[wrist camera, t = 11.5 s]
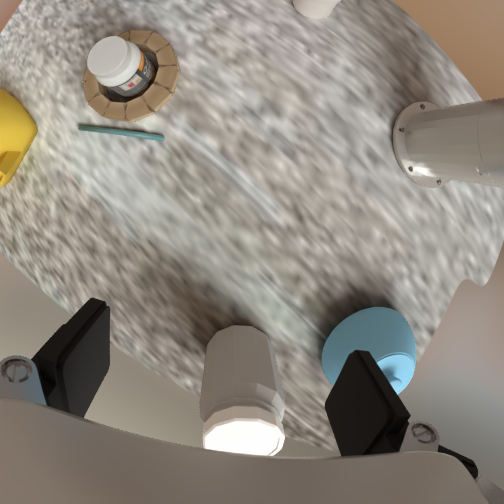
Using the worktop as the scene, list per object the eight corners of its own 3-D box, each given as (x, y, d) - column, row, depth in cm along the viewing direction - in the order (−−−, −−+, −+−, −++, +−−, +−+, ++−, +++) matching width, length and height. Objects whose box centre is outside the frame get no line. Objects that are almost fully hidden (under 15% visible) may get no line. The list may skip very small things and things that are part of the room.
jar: (277, 368, 44) (295, 460, 27) (215, 378, 44) (209, 471, 27) (267, 315, 42) (286, 406, 24) (199, 326, 42) (181, 419, 24)
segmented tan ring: (190, 42, 31) (186, 33, 28) (165, 127, 34) (159, 123, 31) (109, 38, 30) (100, 30, 27) (84, 117, 33) (73, 114, 30)
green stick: (165, 136, 34) (164, 135, 34) (164, 141, 34) (162, 141, 34) (80, 125, 33) (78, 124, 32) (79, 130, 33) (76, 129, 32)
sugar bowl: (405, 291, 42) (447, 326, 31) (399, 366, 46) (429, 407, 35) (314, 313, 42) (338, 360, 31) (320, 388, 46) (338, 438, 35)
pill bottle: (165, 79, 32) (142, 53, 23) (129, 107, 33) (97, 91, 23) (142, 51, 31) (117, 22, 21) (108, 78, 31) (74, 57, 22)
